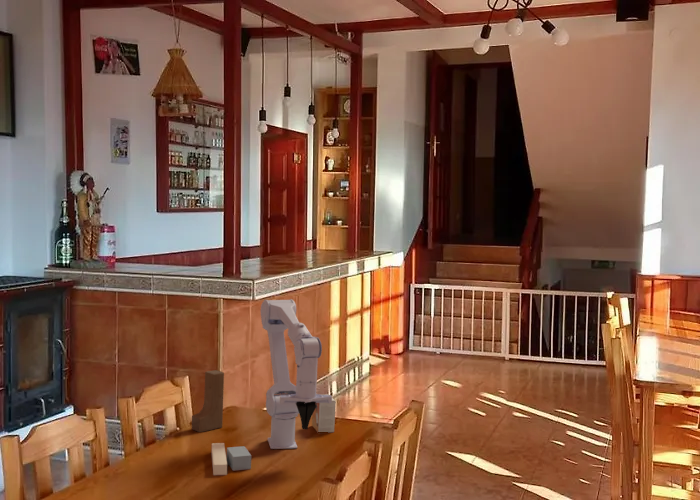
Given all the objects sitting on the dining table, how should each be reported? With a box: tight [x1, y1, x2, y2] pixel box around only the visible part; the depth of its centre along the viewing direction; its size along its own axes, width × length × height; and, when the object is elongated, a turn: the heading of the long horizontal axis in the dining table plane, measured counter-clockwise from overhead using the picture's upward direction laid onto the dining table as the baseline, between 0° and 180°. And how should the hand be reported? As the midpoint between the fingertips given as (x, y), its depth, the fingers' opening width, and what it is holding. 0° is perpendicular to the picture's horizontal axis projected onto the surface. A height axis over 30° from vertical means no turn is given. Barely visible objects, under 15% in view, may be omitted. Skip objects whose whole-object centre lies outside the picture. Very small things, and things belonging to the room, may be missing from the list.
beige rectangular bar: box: [211, 442, 228, 476], centre depth 212 cm, size 18×4×3 cm, turn 12°
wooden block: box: [191, 369, 225, 433], centre depth 242 cm, size 9×4×18 cm, turn 135°
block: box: [226, 446, 252, 471], centre depth 211 cm, size 8×5×4 cm, turn 21°
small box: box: [311, 393, 337, 433], centre depth 247 cm, size 8×6×10 cm
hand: (304, 428), depth 214 cm, fingers closed
